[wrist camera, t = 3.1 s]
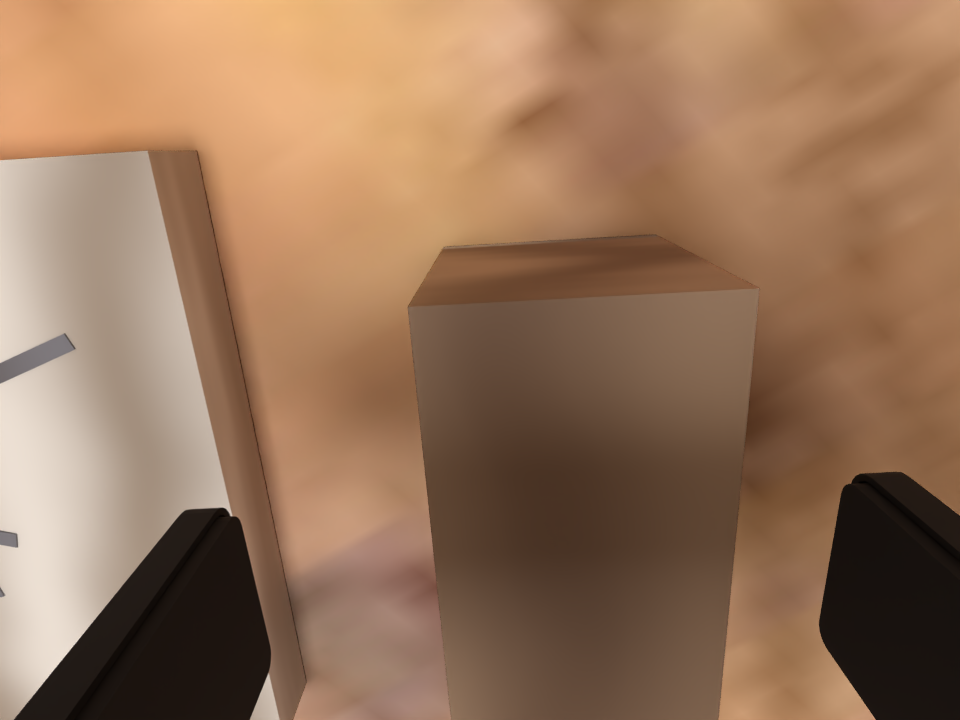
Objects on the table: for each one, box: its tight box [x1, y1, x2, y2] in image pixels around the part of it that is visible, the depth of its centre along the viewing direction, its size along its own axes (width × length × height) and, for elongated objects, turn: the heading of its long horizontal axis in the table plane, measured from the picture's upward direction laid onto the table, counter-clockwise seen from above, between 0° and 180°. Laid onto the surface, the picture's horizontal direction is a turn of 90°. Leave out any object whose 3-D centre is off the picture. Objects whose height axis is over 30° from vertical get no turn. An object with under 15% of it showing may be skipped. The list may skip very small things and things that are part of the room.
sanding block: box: [408, 235, 760, 720], centre depth 13 cm, size 5×9×6 cm, turn 4°
